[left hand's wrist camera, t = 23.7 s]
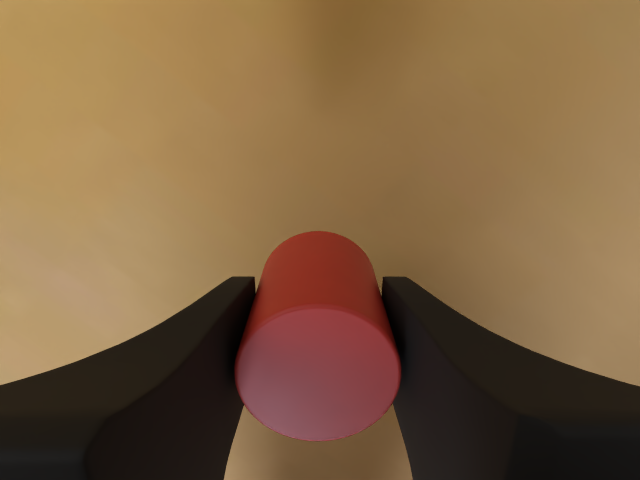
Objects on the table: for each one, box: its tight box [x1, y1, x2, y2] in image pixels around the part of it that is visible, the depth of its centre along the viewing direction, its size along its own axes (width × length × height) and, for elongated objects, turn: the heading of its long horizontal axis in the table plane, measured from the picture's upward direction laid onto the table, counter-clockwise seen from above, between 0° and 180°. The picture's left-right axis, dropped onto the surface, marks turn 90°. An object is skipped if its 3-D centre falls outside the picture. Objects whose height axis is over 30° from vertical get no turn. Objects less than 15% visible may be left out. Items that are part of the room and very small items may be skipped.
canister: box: [234, 231, 402, 441], centre depth 10 cm, size 4×4×4 cm
